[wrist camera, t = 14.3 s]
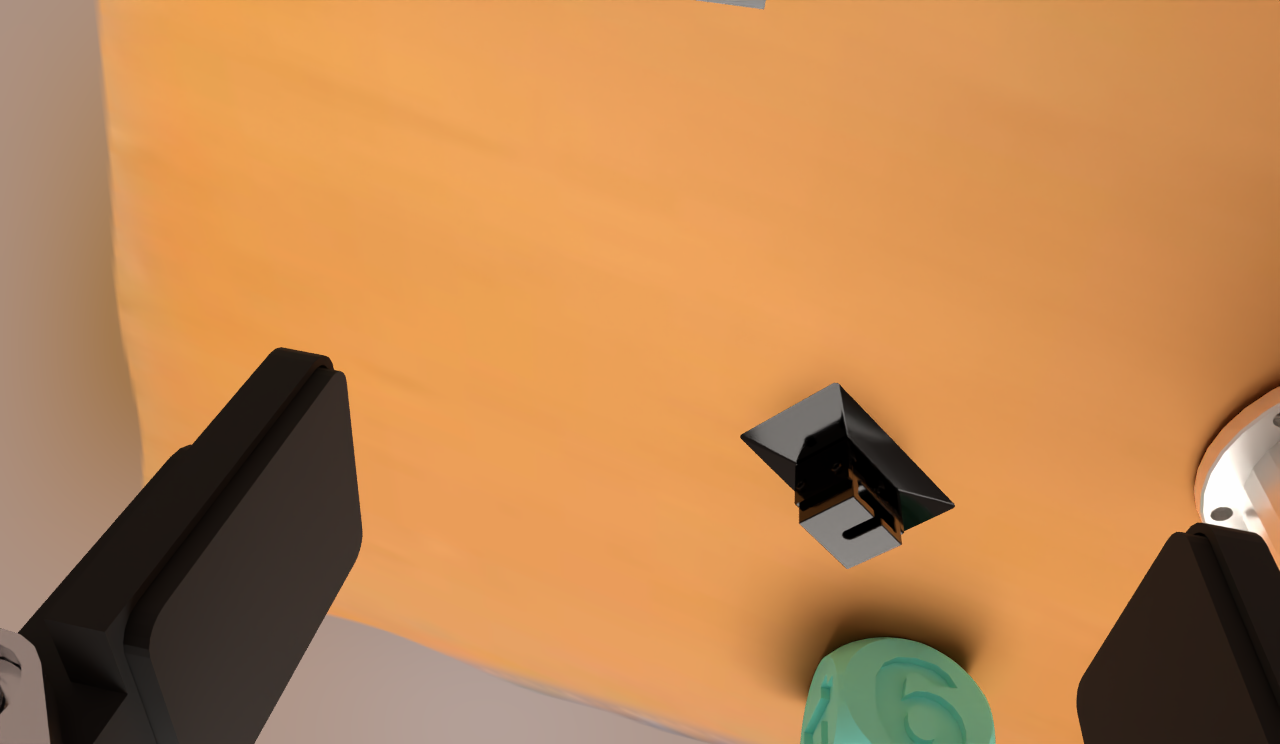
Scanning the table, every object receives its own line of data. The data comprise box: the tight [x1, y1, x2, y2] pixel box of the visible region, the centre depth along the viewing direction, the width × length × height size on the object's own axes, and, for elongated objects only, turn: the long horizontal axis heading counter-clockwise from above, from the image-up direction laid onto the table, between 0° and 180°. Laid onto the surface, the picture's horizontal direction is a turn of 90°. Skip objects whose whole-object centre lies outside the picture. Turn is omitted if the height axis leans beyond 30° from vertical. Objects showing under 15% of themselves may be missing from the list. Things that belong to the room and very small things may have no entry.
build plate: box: [740, 383, 955, 569], centre depth 43 cm, size 12×7×5 cm, turn 43°
